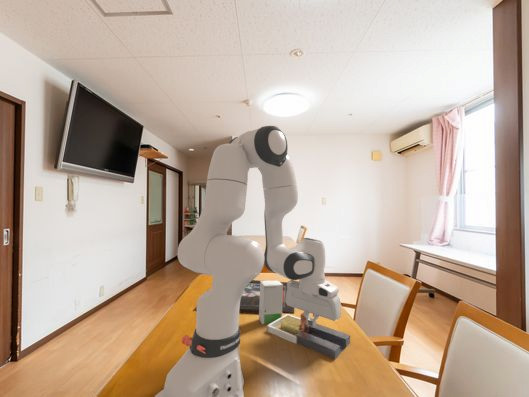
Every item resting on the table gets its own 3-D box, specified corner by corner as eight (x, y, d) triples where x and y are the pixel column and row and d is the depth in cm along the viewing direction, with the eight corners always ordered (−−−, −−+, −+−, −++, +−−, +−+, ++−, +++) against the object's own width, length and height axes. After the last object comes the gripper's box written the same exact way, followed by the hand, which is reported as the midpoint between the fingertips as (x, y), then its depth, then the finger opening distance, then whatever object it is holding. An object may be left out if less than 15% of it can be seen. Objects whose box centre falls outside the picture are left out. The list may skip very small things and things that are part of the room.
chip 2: (299, 337, 88) (299, 325, 89) (289, 333, 91) (289, 322, 91) (304, 333, 92) (305, 321, 92) (295, 329, 94) (295, 318, 94)
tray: (295, 346, 84) (296, 337, 84) (266, 333, 92) (266, 325, 92) (314, 331, 94) (315, 323, 94) (287, 321, 102) (287, 313, 102)
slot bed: (335, 362, 76) (335, 350, 76) (295, 345, 85) (295, 334, 85) (350, 345, 85) (350, 335, 85) (312, 331, 94) (313, 322, 94)
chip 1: (289, 334, 91) (289, 322, 91) (280, 330, 93) (280, 319, 94) (295, 329, 94) (295, 319, 94) (286, 326, 97) (286, 315, 97)
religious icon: (218, 282, 151) (218, 277, 151) (293, 286, 147) (294, 281, 147) (193, 311, 111) (193, 304, 111) (295, 318, 107) (296, 311, 107)
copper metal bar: (302, 337, 87) (303, 316, 87) (298, 336, 88) (299, 315, 88) (309, 332, 91) (309, 312, 91) (305, 331, 92) (305, 311, 92)
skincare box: (262, 326, 97) (263, 285, 98) (258, 318, 104) (259, 280, 104) (282, 324, 99) (283, 284, 100) (277, 316, 106) (278, 279, 106)
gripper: (282, 280, 92) (281, 318, 92) (335, 294, 79) (334, 338, 79) (292, 276, 97) (291, 313, 97) (343, 289, 84) (342, 331, 84)
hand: (311, 324), depth 88 cm, fingers closed
